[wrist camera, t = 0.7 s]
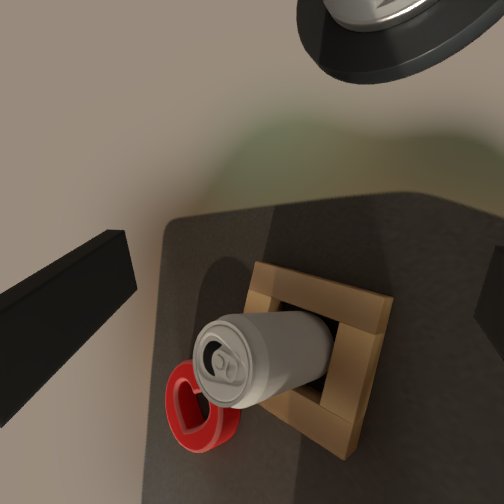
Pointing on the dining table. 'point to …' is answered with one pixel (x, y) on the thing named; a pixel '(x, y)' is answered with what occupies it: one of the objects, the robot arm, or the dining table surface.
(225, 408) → the decorative ornament
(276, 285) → the can stand
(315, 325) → the beverage can
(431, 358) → the dining table surface
